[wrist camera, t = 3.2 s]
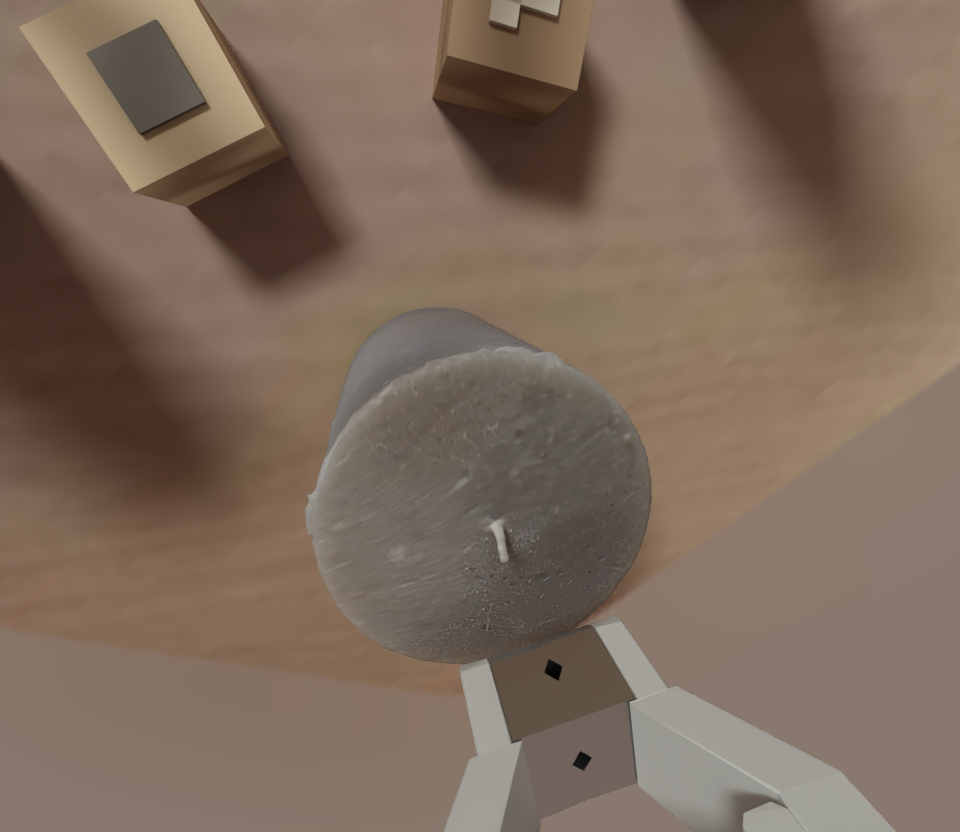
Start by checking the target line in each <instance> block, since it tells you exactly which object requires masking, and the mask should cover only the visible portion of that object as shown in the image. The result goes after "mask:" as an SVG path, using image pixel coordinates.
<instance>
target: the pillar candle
mask: <svg viewBox="0 0 960 832" xmlns="http://www.w3.org/2000/svg"><path fill="white" fill-rule="evenodd" d="M307 496H308V499H309V502H308V505H307V507H306V509H305V518H306V520H305V522H306V527H307V531H308V533H309V535H310V536H313V537H312V546H313V548H314V550H315V554H316V558H317V566H318V569H319V573H320V574H321V576H322V578H323V580H324V582H325V585H326V587H327V588H328V590H329V592H330V594H331V596H332V598H333V600H334V602H335V604H336V605H337V607H338V608H339V609H340V610H341V612H342V613H343V614H344V615H345V616H346V617H347V618H348V619H349V620H350V621H351V622H352V623H353V624H354V625H355V626H356V627H357V628H358V629H360V630H361V631H362V632H363V633H365V634H366V635H367V636H368V637H369V638H371V639H372V640H373V641H374V642H376V643H377V644H379V645H380V646H382V647H384V648H386V649H389V650H392V651H395V652H398V653H400V654H403V655H406V656H408V657H412V658H415V659H418V660H425V661H432V662H439V663H451V664H457V663H459V664H469V663H472V662H475V661H479V660H482V659H485V658H487V660H488V657H490V656H494V655H497V654H500V653H504V652H507V651H511V650H514V649H517V648H521V647H524V646H527V645H531V644H534V643H538V642H539V641H542V640H545V639H548V638H551V637H553V636H556V635H559V634H562V633H565V632H568V631H570V630H572V629H573V628H575V627H576V626H577V625H578V624H579V623H580V622H582V621H583V620H584V619H586V618H587V617H588V616H589V615H590V614H591V613H592V612H593V611H595V610H596V609H597V608H598V607H599V606H600V605H601V604H603V603H604V602H605V601H606V600H607V599H608V598H609V597H610V595H611V594H612V592H613V591H614V590H615V588H616V587H617V585H618V583H619V582H620V581H621V580H622V578H623V577H624V576H625V574H626V573H627V572H628V570H629V569H630V567H631V566H632V564H633V562H634V560H635V558H636V556H637V554H638V551H639V549H640V547H641V543H642V540H643V538H644V535H645V533H646V529H647V523H648V519H649V515H650V510H651V499H652V498H651V477H650V470H649V465H648V457H647V454H646V451H645V447H644V445H643V443H642V441H641V439H640V436H639V435H638V433H637V430H636V429H635V427H634V425H633V423H632V421H631V419H630V417H629V416H628V414H627V413H626V411H625V410H624V409H623V408H622V407H621V405H620V404H619V403H618V402H617V401H616V399H615V398H614V397H613V396H612V395H611V394H610V393H609V392H608V391H607V390H606V389H605V388H603V387H602V386H601V385H600V384H599V383H597V382H596V381H595V380H593V379H592V378H591V377H589V376H588V375H586V374H585V373H583V372H581V371H580V370H578V369H576V368H575V367H573V366H571V365H569V364H567V363H565V361H563V360H561V359H560V357H559V356H557V355H555V354H553V353H552V352H544V351H542V350H540V349H538V348H536V347H534V346H532V345H530V344H529V343H527V342H525V341H523V340H520V339H518V338H517V337H515V336H513V335H511V334H509V333H507V332H505V331H504V330H502V329H500V328H498V327H496V326H494V325H492V324H490V323H488V322H486V321H484V320H482V319H480V318H479V317H477V316H474V315H472V314H470V313H467V312H464V311H460V310H456V309H450V308H425V309H419V310H415V311H410V312H407V313H404V314H402V315H400V316H397V317H396V318H394V319H392V320H390V321H388V322H387V323H386V324H384V325H383V326H382V327H381V328H379V329H378V330H377V331H375V332H374V333H373V334H372V335H371V336H370V337H369V338H368V339H367V340H366V341H365V343H364V344H363V345H362V346H361V348H360V349H359V350H358V352H357V353H356V355H355V357H354V359H353V361H352V363H351V365H350V367H349V371H348V373H347V375H346V378H345V383H344V387H343V390H342V394H341V398H340V402H339V405H338V409H337V412H336V416H335V419H334V421H333V422H332V424H331V434H330V438H329V442H328V447H327V451H326V455H325V458H324V461H323V464H322V467H321V470H320V474H319V477H318V480H317V485H316V488H315V490H314V492H313V493H312V494H311V495H307Z"/></svg>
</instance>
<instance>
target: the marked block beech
mask: <svg viewBox="0 0 960 832" xmlns="http://www.w3.org/2000/svg"><path fill="white" fill-rule="evenodd" d="M19 28H20V29H21V31H22V32H23V34H24V35H25V37H26V38H27V40H28V41H29V42H30V44H31V45H32V47H33V48H34V50H35V51H36V53H37V54H38V55H39V57H40V58H41V60H42V61H43V63H44V64H45V66H46V67H47V68H48V70H49V71H50V73H51V74H52V76H53V77H54V79H55V80H56V81H57V83H58V84H59V86H60V87H61V89H62V90H63V92H64V93H65V94H66V96H67V97H68V99H69V100H70V102H71V103H72V105H73V106H74V107H75V109H76V110H77V112H78V113H79V115H80V116H81V118H82V119H83V120H84V122H85V123H86V125H87V126H88V128H89V129H90V131H91V132H92V133H93V135H94V136H95V138H96V139H97V141H98V142H99V144H100V145H101V146H102V148H103V149H104V151H105V152H106V154H107V155H108V157H109V158H110V159H111V161H112V162H113V164H114V165H115V167H116V168H117V170H118V171H119V173H120V174H121V175H122V177H123V178H124V180H125V181H126V183H127V184H128V186H129V187H130V188H131V190H132V191H133V192H134V193H138V194H141V195H145V196H149V197H152V198H156V199H160V200H163V201H167V202H171V203H175V204H178V205H182V206H186V207H187V206H189V205H191V204H193V203H195V202H197V201H199V200H201V199H203V198H205V197H207V196H209V195H211V194H213V193H215V192H217V191H219V190H221V189H223V188H225V187H227V186H229V185H231V184H233V183H235V182H237V181H239V180H241V179H243V178H245V177H247V176H249V175H251V174H253V173H255V172H257V171H259V170H261V169H263V168H265V167H267V166H269V165H271V164H273V163H275V162H277V161H279V160H281V159H283V158H285V157H287V156H289V154H288V152H287V150H286V148H285V147H284V145H283V143H282V141H281V139H280V138H279V136H278V134H277V132H276V130H275V129H274V127H273V125H272V123H271V121H270V120H269V118H268V116H267V114H266V112H265V111H264V109H263V107H262V105H261V103H260V102H259V100H258V98H257V96H256V94H255V93H254V91H253V89H252V87H251V85H250V84H249V82H248V80H247V78H246V76H245V75H244V73H243V71H242V69H241V67H240V66H239V64H238V62H237V60H236V58H235V57H234V55H233V53H232V51H231V49H230V48H229V46H228V44H227V42H226V41H225V39H224V37H223V35H222V33H221V32H220V30H219V28H218V26H217V25H216V23H215V22H214V21H213V19H212V18H211V16H210V15H209V13H208V12H207V10H206V9H205V8H204V6H203V5H202V3H201V2H200V0H75V1H72V2H70V3H68V4H66V5H64V6H62V7H60V8H58V9H56V10H54V11H52V12H50V13H47V14H45V15H43V16H41V17H39V18H37V19H35V20H33V21H31V22H29V23H27V24H25V25H22V26H20V27H19Z"/></svg>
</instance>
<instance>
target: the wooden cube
mask: <svg viewBox="0 0 960 832" xmlns="http://www.w3.org/2000/svg"><path fill="white" fill-rule="evenodd" d="M593 3H594V0H443V8H442V17H441V25H440V34H439V43H438V52H437V61H436V69H435V78H434V87H433V96H432V99H435V100H439V101H443V102H447V103H451V104H455V105H459V106H463V107H467V108H471V109H475V110H479V111H483V112H487V113H491V114H495V115H499V116H503V117H507V118H511V119H515V120H519V121H523V122H527V123H531V124H535V125H537V124H538V123H539V122H541V121H542V120H543V119H544V118H545V117H546V116H548V115H549V114H550V113H551V112H552V111H554V110H555V109H556V108H557V107H558V106H560V105H561V104H562V103H563V102H564V101H565V100H567V99H568V98H569V97H570V96H571V95H573V94H574V93H575V92H576V91H577V88H578V83H579V77H580V72H581V67H582V61H583V56H584V51H585V45H586V40H587V35H588V29H589V24H590V19H591V13H592V8H593Z"/></svg>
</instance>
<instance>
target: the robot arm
mask: <svg viewBox="0 0 960 832" xmlns="http://www.w3.org/2000/svg"><path fill="white" fill-rule="evenodd" d="M460 675H461V680H462V684H463V689H464V694H465V698H466V703H467V708H468V713H469V717H470V722H471V726H472V732H473V736H474V741H475V745H476V750H477V755H478V756H475V757H473V758H470V759H469V760H468V763H467V766H466V769H465V771H464V774H463V778H462V780H461V783H460V786H459V789H458V792H457V795H456V798H455V800H454V803H453V806H452V809H451V812H450V815H449V818H448V821H447V824H446V827H445V829H444V832H540V826H541V823H540V819H542V818H545V817H547V816H550V815H552V814H554V813H557V812H559V811H562V810H564V809H566V808H569V807H571V806H574V805H576V804H578V803H580V802H583V801H585V800H588V799H591V798H594V797H597V796H600V795H602V794H605V793H608V792H611V791H614V790H617V789H620V788H623V787H626V786H629V785H632V784H635V783H638V786H639V787H640V788H642V789H643V790H644V791H645V792H646V793H647V794H649V795H650V796H651V797H652V798H653V799H655V800H656V801H657V802H658V803H659V804H661V805H662V806H663V807H664V808H665V809H667V810H668V811H669V812H670V813H671V814H673V815H674V816H675V817H676V818H677V819H678V820H680V821H681V822H682V823H683V824H685V825H686V826H687V827H688V828H689V829H690V830H692V831H693V832H895V830H894V829H893V828H892V827H891V826H890V825H889V824H888V823H887V821H886V820H884V818H883V817H882V816H881V815H880V814H879V813H878V812H877V811H876V810H875V808H874V807H873V806H872V805H871V804H870V803H869V802H868V801H867V800H866V799H865V797H864V796H863V795H862V794H861V793H860V792H859V791H858V790H857V789H856V788H855V787H854V785H853V784H852V783H851V782H850V781H849V780H848V779H847V778H846V777H845V776H844V775H843V773H842V772H841V771H839V770H837V769H835V768H833V767H832V766H830V765H828V764H826V763H824V762H822V761H820V760H818V759H816V758H814V757H813V756H811V755H809V754H807V753H805V752H803V751H801V750H799V749H797V748H795V747H793V746H791V745H790V744H788V743H786V742H784V741H782V740H780V739H778V738H776V737H774V736H772V735H770V734H768V733H767V732H765V731H763V730H761V729H759V728H757V727H755V726H753V725H751V724H750V723H748V722H745V721H744V720H742V719H740V718H738V717H736V716H734V715H732V714H730V713H728V712H727V711H725V710H723V709H721V708H719V707H717V706H715V705H713V704H711V703H709V702H707V701H706V700H704V699H702V698H700V697H698V696H696V695H694V694H692V693H690V692H688V691H687V690H685V689H683V688H681V687H679V686H674V687H671V688H668V686H667V685H666V683H665V682H664V681H663V679H662V678H661V676H660V675H659V673H658V672H657V671H656V669H655V668H654V666H653V665H652V663H651V662H650V661H649V659H648V658H647V656H646V655H645V653H644V652H643V651H642V649H641V648H640V647H639V645H638V643H637V642H636V641H635V639H634V638H633V636H632V635H631V633H630V632H629V631H628V629H627V628H626V626H625V625H624V623H623V622H622V621H621V619H619V618H618V617H616V616H613V617H610V618H607V619H604V620H601V621H599V622H595V623H592V624H590V625H586V626H583V627H580V628H577V629H574V630H571V631H568V632H565V633H562V634H559V635H556V636H553V637H551V638H548V639H545V640H542V641H539V642H538V643H534V644H531V645H527V646H524V647H521V648H517V649H514V650H511V651H507V652H504V653H500V654H497V655H494V656H490V657H488V660H487V658H485V659H482V660H479V661H475V662H472V663H469V664H465V665H462V666H460Z"/></svg>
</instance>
